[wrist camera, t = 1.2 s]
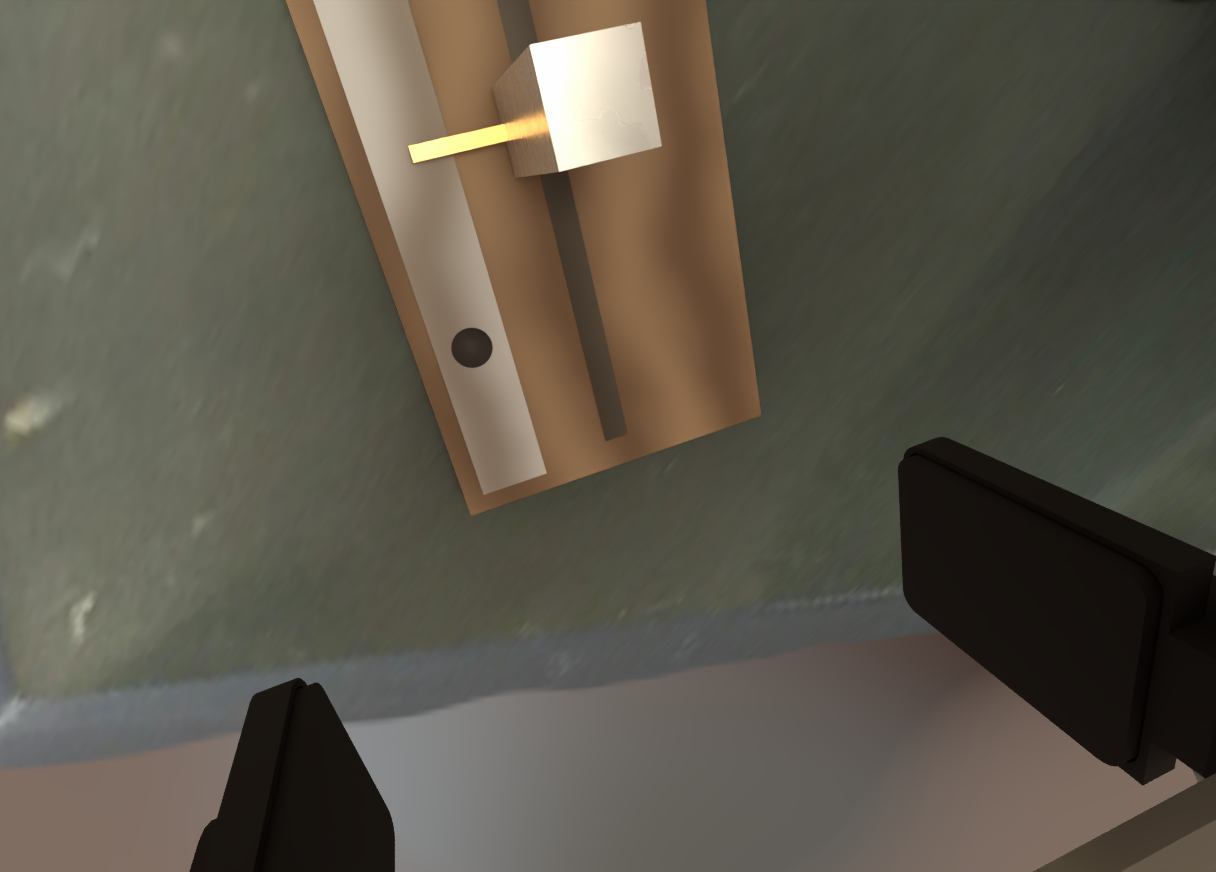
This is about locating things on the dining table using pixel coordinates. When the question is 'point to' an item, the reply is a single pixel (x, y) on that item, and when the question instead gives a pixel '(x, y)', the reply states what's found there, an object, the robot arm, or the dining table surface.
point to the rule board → (542, 239)
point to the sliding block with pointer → (568, 105)
